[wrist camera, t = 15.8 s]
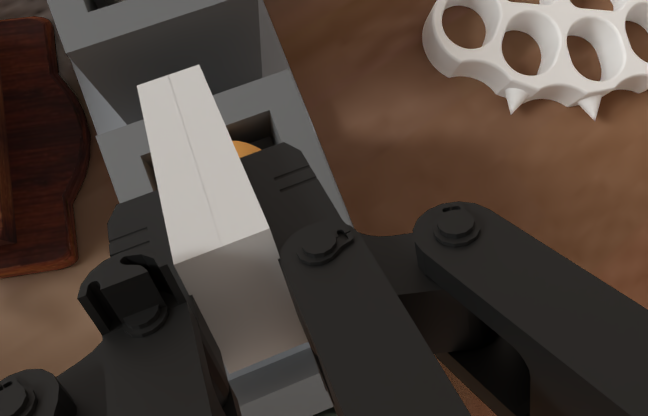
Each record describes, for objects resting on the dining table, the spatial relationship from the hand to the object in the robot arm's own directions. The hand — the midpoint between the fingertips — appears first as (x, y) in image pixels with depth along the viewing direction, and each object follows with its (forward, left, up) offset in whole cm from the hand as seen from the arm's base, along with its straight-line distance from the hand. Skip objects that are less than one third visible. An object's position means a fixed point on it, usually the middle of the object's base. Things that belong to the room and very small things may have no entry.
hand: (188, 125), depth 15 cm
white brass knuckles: (+18, -19, -27) cm, 37 cm away
